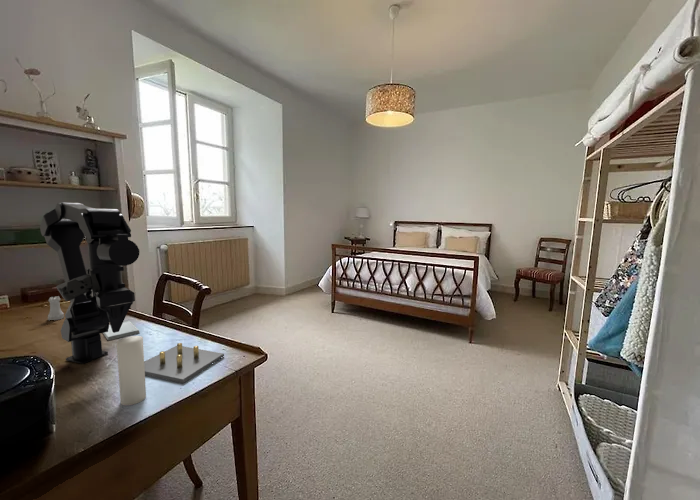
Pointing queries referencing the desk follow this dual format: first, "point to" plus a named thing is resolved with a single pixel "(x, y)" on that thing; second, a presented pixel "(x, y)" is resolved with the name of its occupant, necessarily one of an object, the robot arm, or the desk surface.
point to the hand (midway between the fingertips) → (110, 327)
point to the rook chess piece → (55, 309)
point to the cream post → (131, 370)
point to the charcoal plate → (180, 363)
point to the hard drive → (121, 331)
